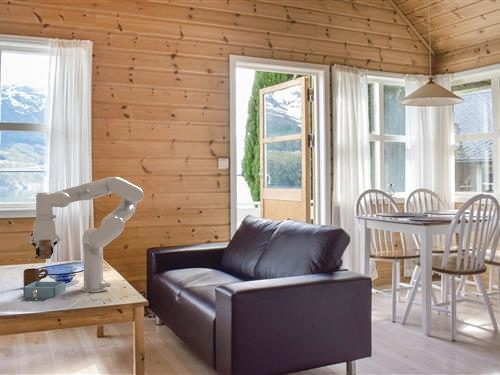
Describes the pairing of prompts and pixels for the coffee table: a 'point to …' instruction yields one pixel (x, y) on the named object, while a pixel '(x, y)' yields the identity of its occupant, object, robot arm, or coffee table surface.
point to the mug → (33, 275)
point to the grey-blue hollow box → (34, 297)
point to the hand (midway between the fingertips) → (44, 255)
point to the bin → (45, 289)
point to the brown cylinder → (44, 249)
